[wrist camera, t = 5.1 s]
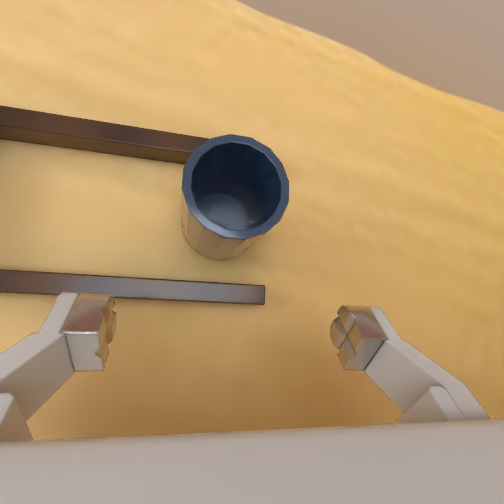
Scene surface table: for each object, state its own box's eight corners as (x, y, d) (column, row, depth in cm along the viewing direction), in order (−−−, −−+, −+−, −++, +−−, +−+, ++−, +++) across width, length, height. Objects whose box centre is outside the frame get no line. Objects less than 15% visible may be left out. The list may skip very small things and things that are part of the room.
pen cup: (254, 195, 22) (290, 143, 14) (251, 262, 21) (287, 243, 14) (185, 187, 21) (187, 126, 13) (179, 257, 20) (177, 233, 13)
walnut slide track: (264, 159, 22) (273, 143, 20) (258, 304, 20) (267, 305, 18) (-23, 116, 18) (-53, 90, 16) (-60, 289, 17) (-99, 287, 14)
